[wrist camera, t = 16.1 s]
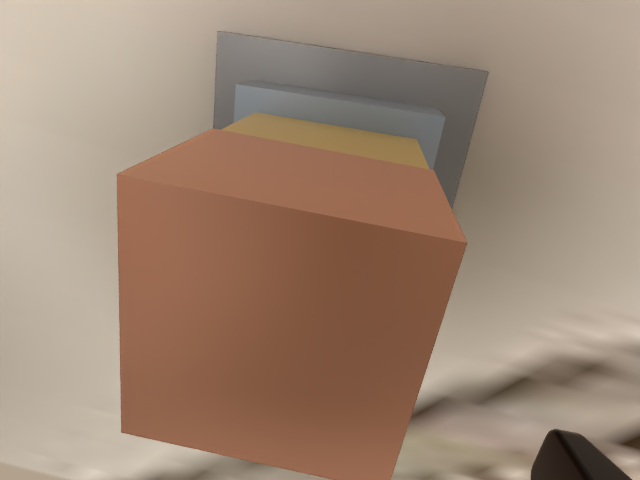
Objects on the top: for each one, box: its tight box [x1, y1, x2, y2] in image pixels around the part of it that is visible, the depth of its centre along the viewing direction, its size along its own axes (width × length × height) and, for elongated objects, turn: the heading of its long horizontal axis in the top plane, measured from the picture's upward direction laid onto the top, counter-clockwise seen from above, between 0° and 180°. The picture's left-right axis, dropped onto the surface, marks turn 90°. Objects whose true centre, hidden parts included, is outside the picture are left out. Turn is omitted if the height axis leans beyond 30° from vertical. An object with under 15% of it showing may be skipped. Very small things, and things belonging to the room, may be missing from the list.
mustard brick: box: [221, 112, 429, 169], centre depth 14 cm, size 6×6×4 cm
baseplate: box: [213, 31, 489, 209], centre depth 18 cm, size 10×10×3 cm
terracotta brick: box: [117, 128, 467, 480], centre depth 10 cm, size 6×6×4 cm
